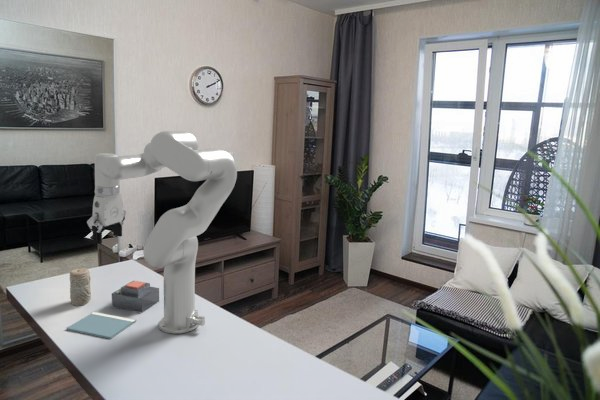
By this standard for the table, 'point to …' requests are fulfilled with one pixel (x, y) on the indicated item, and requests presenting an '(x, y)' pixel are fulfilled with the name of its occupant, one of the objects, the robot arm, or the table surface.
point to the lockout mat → (101, 325)
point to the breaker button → (135, 285)
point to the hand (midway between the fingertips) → (107, 239)
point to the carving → (80, 286)
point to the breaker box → (135, 298)
